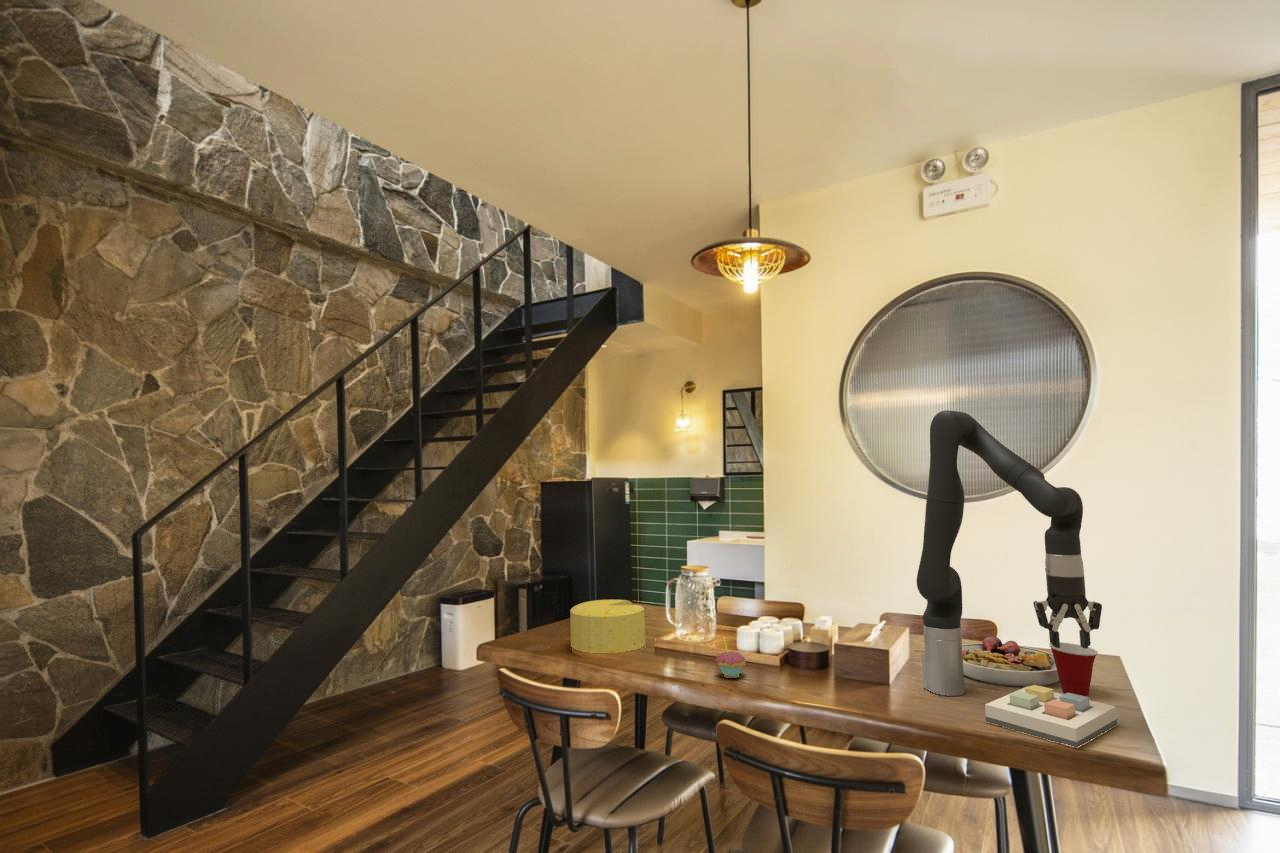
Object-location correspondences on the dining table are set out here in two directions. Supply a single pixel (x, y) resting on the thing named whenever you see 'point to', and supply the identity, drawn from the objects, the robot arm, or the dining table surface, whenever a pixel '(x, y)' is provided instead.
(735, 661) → the cupcake
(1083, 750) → the dining table surface
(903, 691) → the dining table surface
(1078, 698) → the key slate
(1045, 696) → the key mustard
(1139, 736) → the dining table surface
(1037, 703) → the key sage
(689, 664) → the dining table surface
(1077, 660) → the plastic cup
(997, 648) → the bowl
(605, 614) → the cheese
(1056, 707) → the key terracotta
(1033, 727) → the keypad board
